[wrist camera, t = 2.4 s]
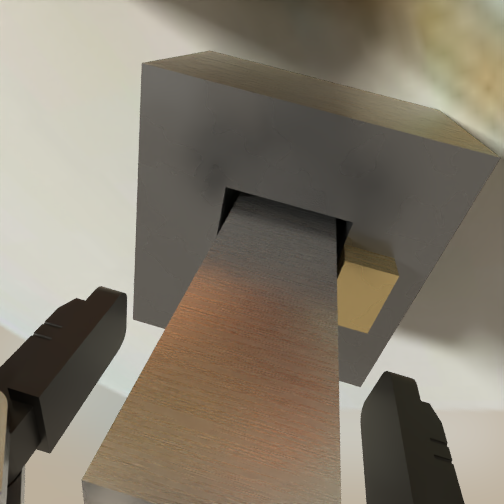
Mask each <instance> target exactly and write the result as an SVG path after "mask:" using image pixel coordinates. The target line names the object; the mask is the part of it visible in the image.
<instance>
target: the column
mask: <svg viewBox="0 0 504 504" xmlns="http://www.w3.org/2000/svg"><path fill="white" fill-rule="evenodd" d="M339 420H340V418H339V364H338V309H337V255H336V217H332V216H328V215H325V214H321V213H318V212H314V211H310V210H307V209H303V208H300V207H296V206H292V205H289V204H285V203H281V202H278V201H274V200H271V199H267V198H263V197H260V196H256V195H253V194H249V193H245V192H241V194H240V195H239V197H238V199H237V201H236V203H235V204H234V206H233V208H232V210H231V212H230V213H229V215H228V217H227V219H226V221H225V222H224V224H223V226H222V228H221V230H220V231H219V233H218V235H217V237H216V239H215V240H214V242H213V244H212V246H211V248H210V249H209V251H208V253H207V255H206V257H205V258H204V260H203V262H202V264H201V266H200V268H199V269H198V271H197V273H196V275H195V277H194V278H193V280H192V282H191V284H190V286H189V287H188V289H187V291H186V293H185V295H184V296H183V298H182V300H181V302H180V304H179V305H178V307H177V309H176V311H175V313H174V314H173V316H172V318H171V320H170V322H169V323H168V325H167V327H166V329H165V331H164V332H163V334H162V336H161V338H160V340H159V341H158V343H157V345H156V347H155V349H154V350H153V352H152V354H151V356H150V358H149V359H148V361H147V363H146V365H145V367H144V368H143V370H142V372H141V374H140V376H139V377H138V379H137V381H136V383H135V385H134V386H133V388H132V390H131V392H130V394H129V395H128V397H127V399H126V401H125V403H124V404H123V406H122V408H121V410H120V412H119V413H118V415H117V417H116V419H115V421H114V423H113V424H112V426H111V428H110V430H109V432H108V433H107V435H106V437H105V439H104V440H103V442H102V444H101V446H100V448H99V449H98V451H97V453H96V455H95V457H94V458H93V460H92V462H91V464H90V466H89V467H88V469H87V471H86V473H85V475H84V476H83V478H82V488H83V497H84V504H341V479H340V478H341V474H340V473H341V472H340V421H339Z"/></svg>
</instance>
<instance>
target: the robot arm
mask: <svg viewBox="0 0 504 504" xmlns="http://www.w3.org/2000/svg"><path fill="white" fill-rule="evenodd" d="M126 318H127V295H126V294H125V293H122V292H119V291H115V290H112V289H109V288H105V287H102V286H100V287H98V288H97V289H96V290H95V291H94V292H93V293H92V294H91V295H90V296H89V297H88V298H87V300H86V301H84V300H81V299H78V298H76V299H74V300H72V301H70V302H68V303H67V304H65V305H63V306H61V307H59V308H58V309H57V310H56V311H55V312H54V313H53V314H52V315H51V316H50V317H49V318H48V319H47V320H46V321H45V323H44V324H42V325H41V326H40V327H39V328H38V329H37V330H36V331H35V332H34V335H33V336H30V337H29V338H28V339H27V340H26V341H25V342H24V343H23V345H22V346H21V347H20V348H19V349H18V350H17V351H16V352H15V353H14V354H13V355H12V356H11V357H10V358H9V359H8V360H7V361H6V362H5V363H4V364H3V365H2V366H1V367H0V504H24V487H25V464H26V463H27V461H28V460H29V458H30V457H31V455H32V454H33V453H34V451H35V450H36V449H37V450H41V451H44V452H47V453H51V451H52V450H53V448H54V447H55V445H56V444H57V442H58V440H59V439H60V438H61V436H62V435H63V433H64V432H65V430H66V429H67V427H68V426H69V424H70V422H71V421H72V420H73V418H74V416H75V415H76V413H77V412H78V411H79V409H80V407H81V406H82V404H83V403H84V402H85V400H86V399H87V397H88V395H89V394H90V392H91V391H92V389H93V388H94V386H95V385H96V383H97V382H98V380H99V379H100V377H101V376H102V374H103V373H104V371H105V370H106V368H107V367H108V365H109V364H110V362H111V361H112V359H113V358H114V356H115V355H116V353H117V352H118V350H119V349H120V347H121V345H122V342H123V340H124V337H125V333H126ZM361 435H362V448H363V461H364V475H365V488H366V502H367V504H464V501H463V497H462V494H461V490H460V486H459V483H458V480H457V476H456V472H455V469H454V465H453V464H452V463H451V462H452V458H451V454H450V451H449V448H448V447H447V440H446V437H445V433H444V429H443V426H442V423H441V421H440V420H439V418H438V416H437V415H436V413H435V412H434V410H433V408H432V407H431V405H430V404H429V403H426V402H422V401H421V400H420V396H419V391H418V387H417V384H416V382H415V380H414V379H412V378H409V377H405V376H402V375H399V374H395V373H392V372H388V371H386V372H384V373H383V374H382V376H381V377H380V379H379V380H378V382H377V383H376V385H375V386H374V388H373V390H372V391H371V393H370V394H369V396H368V397H367V399H366V400H365V402H364V405H363V408H362V413H361Z"/></svg>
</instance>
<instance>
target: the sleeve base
mask: <svg viewBox="0 0 504 504" xmlns="http://www.w3.org/2000/svg"><path fill="white" fill-rule="evenodd" d="M499 160H500V157H499V156H498V155H496V154H495V153H494V152H493V151H491V150H490V149H489V148H487V147H486V146H485V145H483V144H482V143H481V142H480V141H478V140H477V139H476V138H474V137H473V136H472V135H470V134H469V133H468V132H467V131H465V130H464V129H463V128H461V127H460V126H459V125H457V124H456V123H455V122H454V121H452V120H451V119H450V118H448V117H447V116H446V115H444V114H443V113H442V112H441V111H439V110H437V109H433V108H429V107H425V106H421V105H418V104H414V103H410V102H406V101H402V100H398V99H394V98H391V97H387V96H383V95H379V94H375V93H371V92H367V91H364V90H360V89H356V88H352V87H348V86H344V85H341V84H337V83H333V82H329V81H325V80H321V79H317V78H314V77H310V76H306V75H302V74H298V73H294V72H291V71H287V70H283V69H279V68H275V67H271V66H267V65H264V64H260V63H256V62H252V61H248V60H244V59H241V58H237V57H233V56H229V55H225V54H221V53H217V52H214V51H205V52H200V53H194V54H189V55H183V56H178V57H172V58H167V59H161V60H156V61H150V62H145V63H142V74H141V103H140V132H139V161H138V190H137V219H136V248H135V277H134V306H133V320H137V321H140V322H144V323H147V324H150V325H154V326H157V327H160V328H164V329H166V327H167V325H168V323H169V322H170V320H171V318H172V316H173V314H174V313H175V311H176V309H177V307H178V305H179V304H180V302H181V300H182V298H183V296H184V295H185V293H186V291H187V289H188V287H189V286H190V284H191V282H192V280H193V278H194V277H195V275H196V273H197V271H198V269H199V268H200V266H201V264H202V262H203V260H204V258H205V257H206V255H207V253H208V251H209V249H210V248H211V246H212V244H213V242H214V240H215V239H216V237H217V235H218V233H219V231H220V230H221V228H222V226H223V224H224V222H225V221H226V219H227V217H228V215H229V213H230V212H231V210H232V208H233V206H234V204H235V203H236V201H237V199H238V197H239V195H240V194H241V192H245V193H249V194H253V195H256V196H260V197H263V198H267V199H271V200H274V201H278V202H281V203H285V204H289V205H292V206H296V207H300V208H303V209H307V210H310V211H314V212H318V213H321V214H325V215H328V216H332V217H336V255H337V309H338V364H339V381H342V382H345V383H349V384H352V385H355V386H359V387H361V385H362V384H363V382H364V381H365V379H366V377H367V376H368V374H369V372H370V371H371V369H372V367H373V366H374V364H375V363H376V361H377V359H378V358H379V356H380V354H381V353H382V351H383V349H384V348H385V346H386V345H387V343H388V341H389V340H390V338H391V336H392V335H393V333H394V331H395V330H396V328H397V327H398V325H399V323H400V322H401V320H402V318H403V317H404V315H405V313H406V312H407V310H408V309H409V307H410V305H411V304H412V302H413V300H414V299H415V297H416V295H417V294H418V292H419V291H420V289H421V287H422V286H423V284H424V282H425V281H426V279H427V277H428V276H429V274H430V273H431V271H432V269H433V268H434V266H435V264H436V263H437V261H438V259H439V258H440V256H441V255H442V253H443V251H444V250H445V248H446V246H447V245H448V243H449V241H450V240H451V238H452V236H453V235H454V233H455V232H456V230H457V228H458V227H459V225H460V223H461V222H462V220H463V218H464V217H465V215H466V214H467V212H468V210H469V209H470V207H471V205H472V204H473V202H474V200H475V199H476V197H477V196H478V194H479V192H480V191H481V189H482V187H483V186H484V184H485V182H486V181H487V179H488V178H489V176H490V174H491V173H492V171H493V169H494V168H495V166H496V164H497V163H498V161H499Z"/></svg>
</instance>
